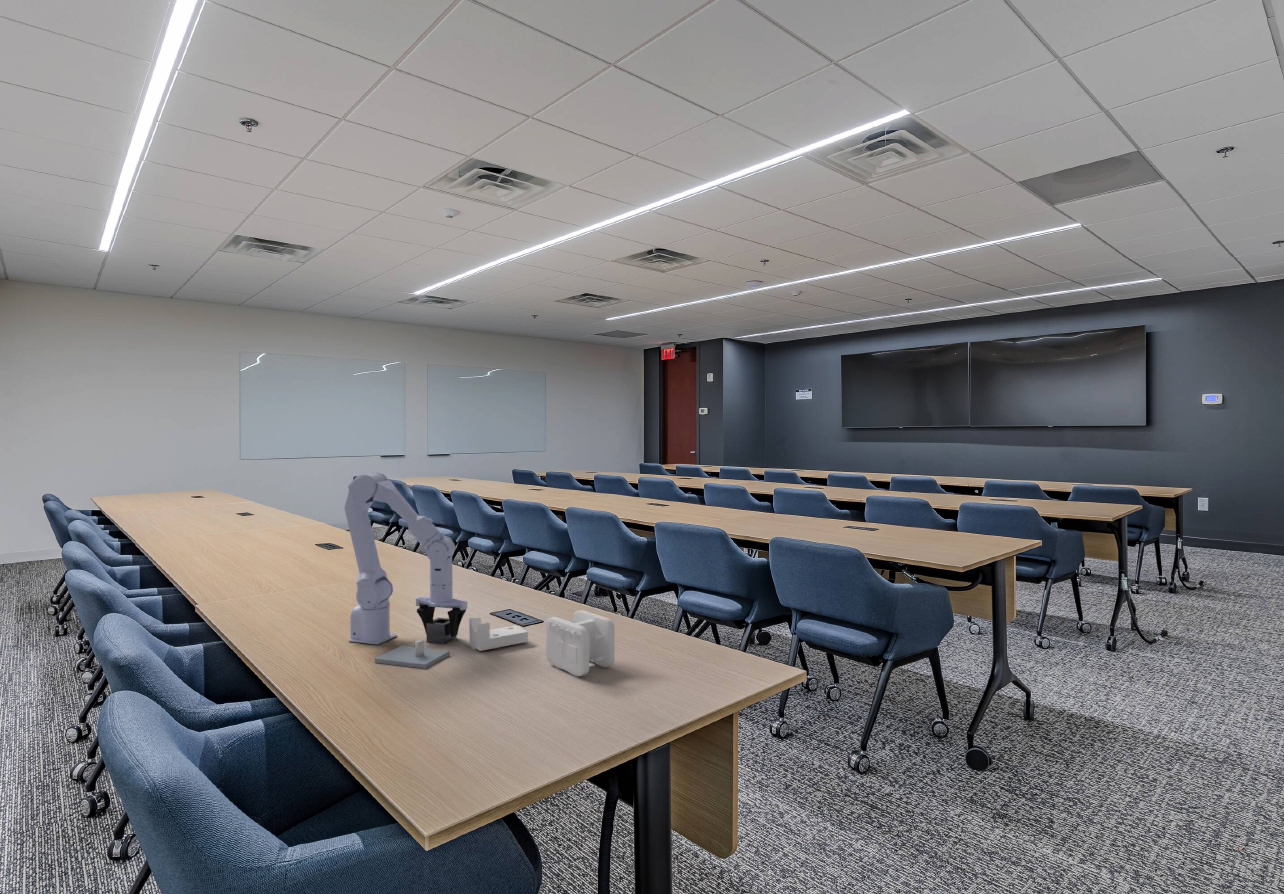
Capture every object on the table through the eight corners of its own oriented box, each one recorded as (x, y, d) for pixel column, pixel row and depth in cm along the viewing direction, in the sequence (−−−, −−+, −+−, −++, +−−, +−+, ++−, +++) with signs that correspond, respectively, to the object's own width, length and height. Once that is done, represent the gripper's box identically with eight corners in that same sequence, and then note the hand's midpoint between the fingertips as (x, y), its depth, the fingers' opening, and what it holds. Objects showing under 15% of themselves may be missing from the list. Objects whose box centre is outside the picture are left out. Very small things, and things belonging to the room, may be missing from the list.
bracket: (479, 654, 168) (479, 624, 168) (469, 647, 174) (469, 617, 174) (527, 645, 176) (527, 616, 175) (516, 638, 181) (516, 610, 181)
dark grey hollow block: (426, 641, 177) (426, 622, 177) (438, 635, 183) (438, 617, 182) (444, 643, 176) (444, 624, 176) (456, 637, 181) (456, 619, 181)
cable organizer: (617, 670, 156) (617, 620, 156) (581, 681, 149) (581, 629, 149) (578, 654, 168) (578, 607, 167) (543, 664, 161) (543, 615, 160)
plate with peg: (374, 662, 162) (374, 643, 161) (401, 649, 171) (401, 631, 171) (424, 668, 157) (424, 649, 157) (449, 655, 167) (449, 636, 167)
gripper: (408, 584, 177) (408, 636, 177) (456, 588, 173) (456, 641, 173) (424, 579, 184) (425, 628, 184) (471, 582, 179) (471, 633, 180)
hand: (441, 634), depth 179 cm, fingers open, 7 cm apart
